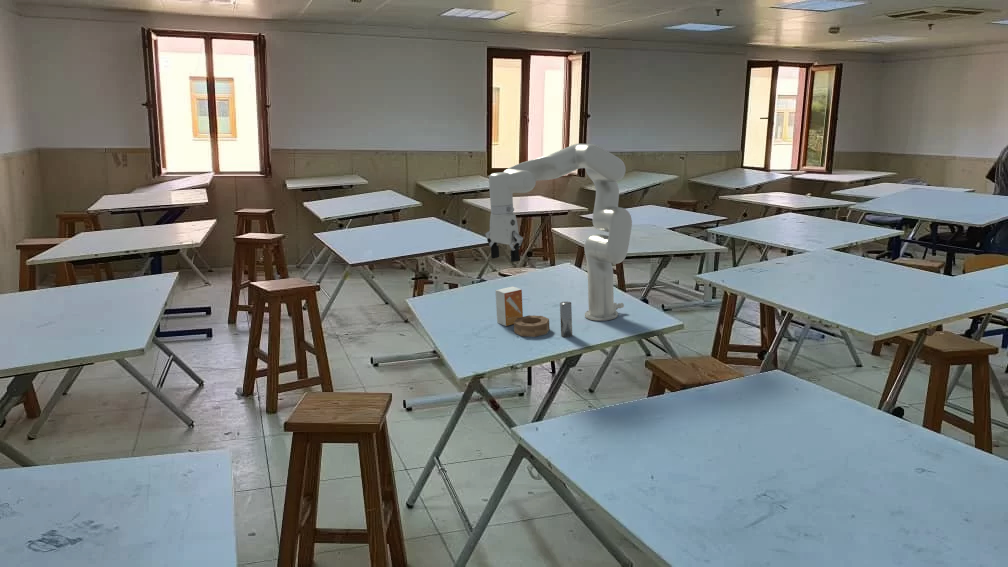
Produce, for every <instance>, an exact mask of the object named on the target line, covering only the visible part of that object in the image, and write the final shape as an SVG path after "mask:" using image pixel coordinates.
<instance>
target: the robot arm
mask: <svg viewBox="0 0 1008 567" xmlns="http://www.w3.org/2000/svg"><path fill="white" fill-rule="evenodd" d="M579 169H585V172H586V175H587V176H588V178H589V179H590V180H591V181H592V182H593V185H594V189H595V200H594V207H593V211H592V226H593V228H595V230H598V231H601V232H606V233H608V235H606V234H602V233H601V234H600V233H598V234H597V233H595V234H592V235H590V236H589V237H588V238H587V239H586V240H585V242H584V247H583V248H584V254H585V259H586V267H587V291H588V292H587V294H588V295H587V296H588V298H587V302H588V310H587V311H585V312H584V317H585V318H586V319H587V320H591V321H600V322H603V321H611V320H615V319H616V318H618V317H619V312H618V311H617V310H618V309H623V308H624V307H625V304H624V303H623V302H619V303H617V302H614V301H615V300H614V293H615V292H614V267H613V264H614V265H617V264H620V263H622V262H623V261H624V260H626V257H627V254H628V250H629V245H630V239H631V233H632V227H633V226H632V225H633V219H632V215H631V214H630V212H629V211H628V209H626V208H624V207H620V206H619V198H620V188H619V185H618V181H619V182H620V181H621V180H622V179H623V178H624V177H625V175H626V169H627V168H626V165H625V163H624V161H623V160H622V159H621V158H620V157H618V156H617V155H614V154H613V153H612V152H610V151H608V150H606V149H604V148H603V147H600V146H599V145H597V144H593V143H575V144H571V145H570V146H567V147H564V148H562V149H560V150H558V151H555V152H553V153H549V154H548V155H544V156H540V157H537V158H534V159H530V160H526V161H523V162H520V163H518V164H515V165H513V166H511V167H509V168H507V169H504V171H502V172H492V173H491V174H489V176H488V185H489V202H490V216H489V230H488V231H487V232H485V234H484V236H485V237H486V241H487V243H488V245H489V247H490V253H491V254H490V256H491V259H492V260H493V259H497V258H499V257H500V247H499V244H502V245H508V246H509V247H510V249H511V250H510V261H511V263H515V262H519V261H520V252H519V251H520V248H521V246H522V244H523V241H524V237H523V236H521V235H520V232H519V225H518V220H517V216H516V214H515V213H514V211H515V208H514V198H513V194H514V193H515V194H517V193H518V194H527V193H528V192H529V193H530V192H531V191H532V190H534V188H535V186H536V184H537V181H551V180H554V179H555V180H556V179H559V178H560V177H563V176H565V175H569V174H570V173H572V172H575V171H576V170H579Z"/></svg>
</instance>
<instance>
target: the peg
mask: <svg viewBox="0 0 1008 567" xmlns="http://www.w3.org/2000/svg"><path fill="white" fill-rule="evenodd" d="M572 311H573V310H572V302H571V301H561V302H559V316H560V337H562V338H572V337H573V320H572V319H573V314H572Z"/></svg>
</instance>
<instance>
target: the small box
mask: <svg viewBox="0 0 1008 567" xmlns="http://www.w3.org/2000/svg"><path fill="white" fill-rule="evenodd" d="M522 293H523V290H522V289H521V288H520V287H516V286H509V287H502V288H500V289H496V290H495V306H496V307H495V308H496V309H495V310H496V322H497V324H500V325H502V326H505V327H507V326H512V325H514V322H515V320H516V319H517V318H520V317H524V315H523V314H524V312H523V311H524V310H523V308H524V307H523V294H522Z"/></svg>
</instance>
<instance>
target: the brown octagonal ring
mask: <svg viewBox="0 0 1008 567" xmlns="http://www.w3.org/2000/svg"><path fill="white" fill-rule="evenodd" d="M513 330H514V334H516V335H519V336H520V337H530V338H531V337H532V338H533V337H534V338H535V337H540V336H543V335H548V333H549V331H550V318H547V317H545V316H543V315H525V316H524V315H523V317H520V318H517V319H516V320H515V322H514V324H513Z"/></svg>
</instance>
